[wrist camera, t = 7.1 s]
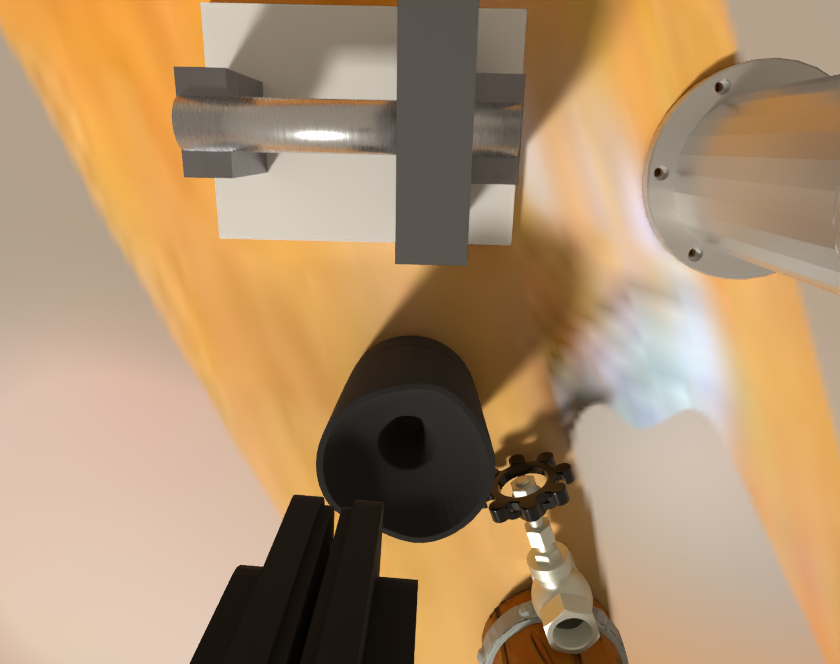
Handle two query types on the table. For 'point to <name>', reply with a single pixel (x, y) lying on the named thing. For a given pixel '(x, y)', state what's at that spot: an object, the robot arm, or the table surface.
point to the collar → (434, 129)
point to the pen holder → (409, 441)
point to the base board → (338, 79)
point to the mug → (542, 637)
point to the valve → (547, 551)
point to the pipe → (323, 125)
